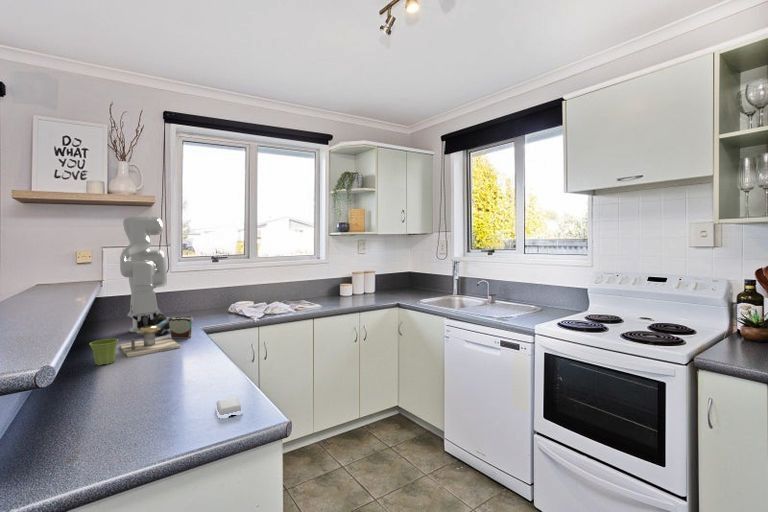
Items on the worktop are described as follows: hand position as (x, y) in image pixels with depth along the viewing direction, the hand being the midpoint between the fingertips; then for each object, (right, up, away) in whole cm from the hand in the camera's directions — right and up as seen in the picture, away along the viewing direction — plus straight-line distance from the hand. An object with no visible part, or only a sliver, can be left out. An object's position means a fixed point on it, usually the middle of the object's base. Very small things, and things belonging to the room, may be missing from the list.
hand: (145, 328), depth 186 cm
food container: (+11, -7, +14) cm, 19 cm away
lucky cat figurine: (-6, -7, +21) cm, 23 cm away
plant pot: (0, -9, -27) cm, 28 cm away
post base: (+5, -8, -5) cm, 11 cm away
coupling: (+3, 0, -3) cm, 4 cm away
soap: (+66, -11, -71) cm, 98 cm away
